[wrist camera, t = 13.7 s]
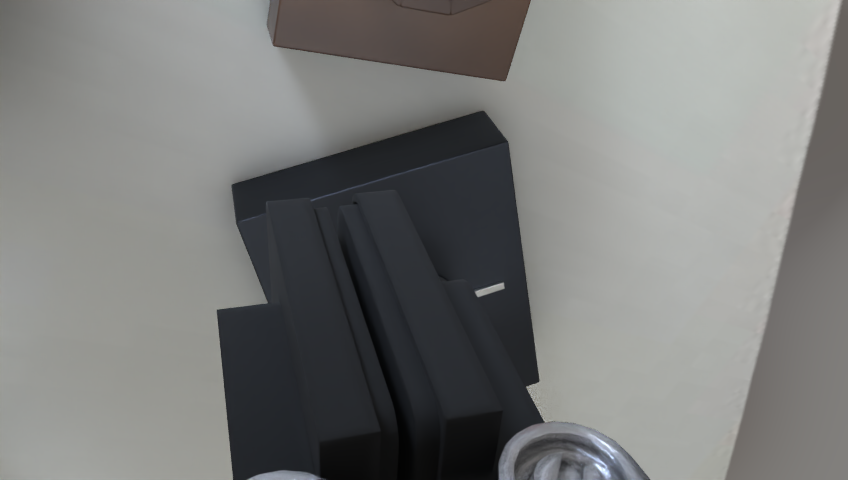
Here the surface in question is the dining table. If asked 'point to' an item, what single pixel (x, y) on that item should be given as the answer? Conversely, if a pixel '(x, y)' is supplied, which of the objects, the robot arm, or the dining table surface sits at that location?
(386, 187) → the control panel
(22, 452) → the dining table surface
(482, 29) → the button block
